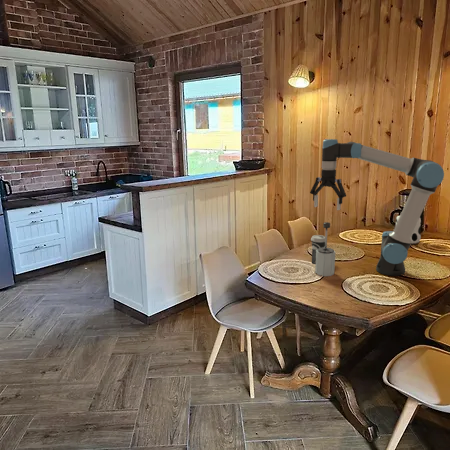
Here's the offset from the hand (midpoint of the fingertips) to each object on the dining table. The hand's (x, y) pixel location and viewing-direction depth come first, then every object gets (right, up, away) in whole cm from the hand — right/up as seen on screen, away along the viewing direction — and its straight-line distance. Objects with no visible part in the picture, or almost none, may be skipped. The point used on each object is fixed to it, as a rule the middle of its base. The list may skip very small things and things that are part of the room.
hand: (326, 208), depth 209 cm
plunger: (+1, -25, +6) cm, 26 cm away
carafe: (0, -36, +10) cm, 37 cm away
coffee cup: (+2, -31, +30) cm, 44 cm away
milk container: (+72, -22, +61) cm, 97 cm away
